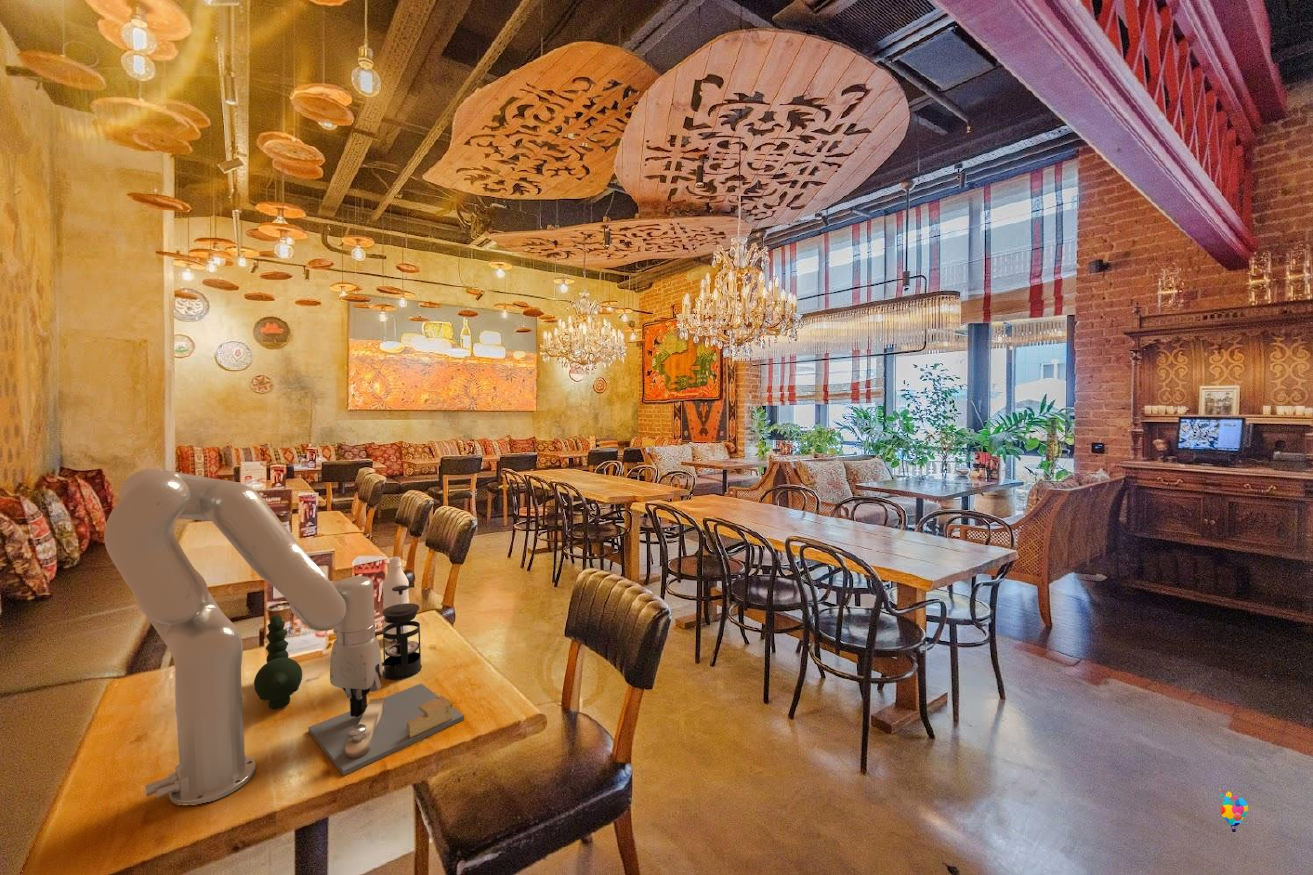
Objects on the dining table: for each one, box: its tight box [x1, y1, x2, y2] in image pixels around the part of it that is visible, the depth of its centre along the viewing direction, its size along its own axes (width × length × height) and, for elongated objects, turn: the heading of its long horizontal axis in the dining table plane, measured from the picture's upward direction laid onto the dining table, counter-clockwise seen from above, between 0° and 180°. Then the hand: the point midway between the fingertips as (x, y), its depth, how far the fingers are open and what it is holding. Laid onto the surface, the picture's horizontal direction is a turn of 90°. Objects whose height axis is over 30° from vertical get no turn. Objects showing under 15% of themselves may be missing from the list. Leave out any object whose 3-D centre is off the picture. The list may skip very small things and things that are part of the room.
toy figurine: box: [253, 614, 303, 710], centre depth 133 cm, size 9×19×25 cm
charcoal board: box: [307, 683, 465, 777], centre depth 121 cm, size 25×21×1 cm
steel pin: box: [348, 724, 366, 743], centre depth 110 cm, size 3×3×2 cm
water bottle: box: [382, 556, 411, 643], centre depth 164 cm, size 7×7×25 cm
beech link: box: [345, 697, 385, 758], centre depth 117 cm, size 18×4×2 cm, turn 14°
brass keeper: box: [407, 695, 453, 739], centre depth 120 cm, size 10×4×4 cm, turn 138°
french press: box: [375, 585, 423, 681], centre depth 145 cm, size 12×9×23 cm
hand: (358, 713), depth 122 cm, fingers closed
